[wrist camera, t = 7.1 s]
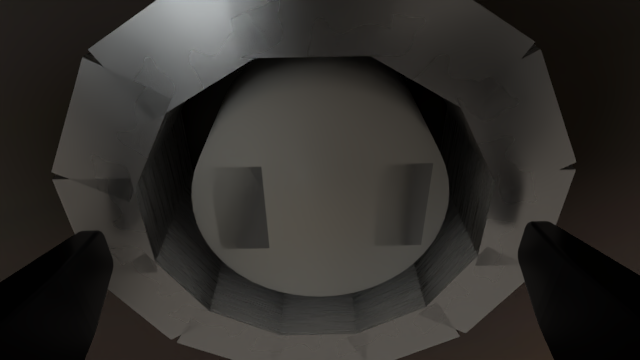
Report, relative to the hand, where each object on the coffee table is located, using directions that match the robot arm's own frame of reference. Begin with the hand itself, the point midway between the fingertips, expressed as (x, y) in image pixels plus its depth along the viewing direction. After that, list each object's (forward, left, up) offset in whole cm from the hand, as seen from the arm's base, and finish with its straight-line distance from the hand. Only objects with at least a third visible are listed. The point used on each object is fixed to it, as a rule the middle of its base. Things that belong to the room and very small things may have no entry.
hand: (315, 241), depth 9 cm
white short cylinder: (0, 0, -5) cm, 5 cm away
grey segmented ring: (0, 0, -4) cm, 4 cm away
